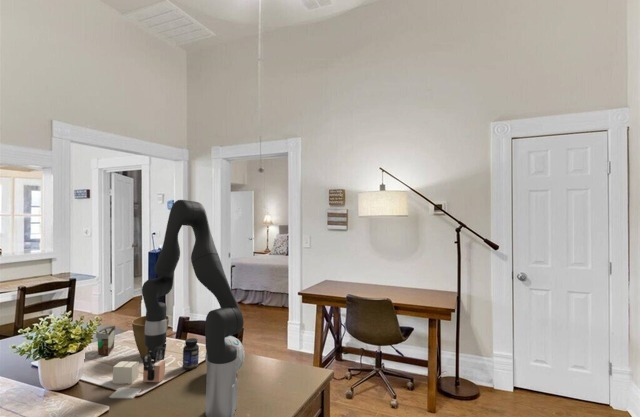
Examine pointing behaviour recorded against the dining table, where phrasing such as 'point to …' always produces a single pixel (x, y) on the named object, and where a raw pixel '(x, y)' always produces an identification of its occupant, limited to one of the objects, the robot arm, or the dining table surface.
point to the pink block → (156, 372)
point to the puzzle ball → (240, 350)
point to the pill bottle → (190, 354)
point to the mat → (125, 393)
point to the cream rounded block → (125, 372)
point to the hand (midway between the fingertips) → (154, 376)
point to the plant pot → (141, 334)
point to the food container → (105, 340)
